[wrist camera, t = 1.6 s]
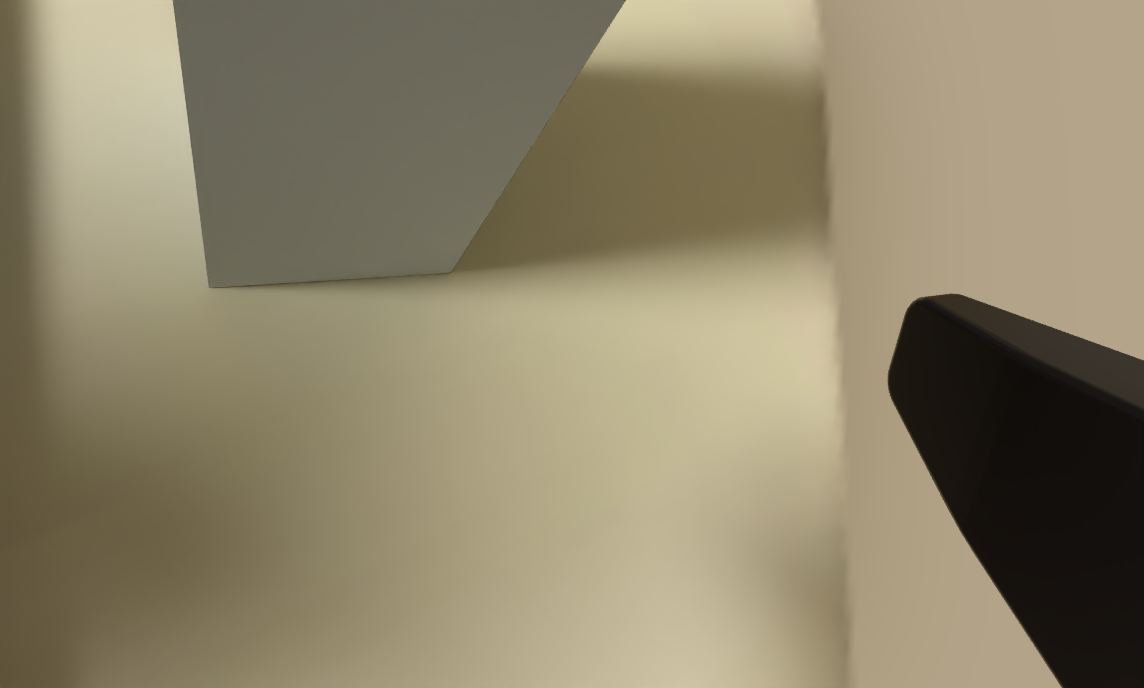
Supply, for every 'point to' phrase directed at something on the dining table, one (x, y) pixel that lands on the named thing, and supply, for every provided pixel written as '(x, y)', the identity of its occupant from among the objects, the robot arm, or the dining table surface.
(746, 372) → the dining table surface
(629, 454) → the dining table surface
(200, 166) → the slate post
